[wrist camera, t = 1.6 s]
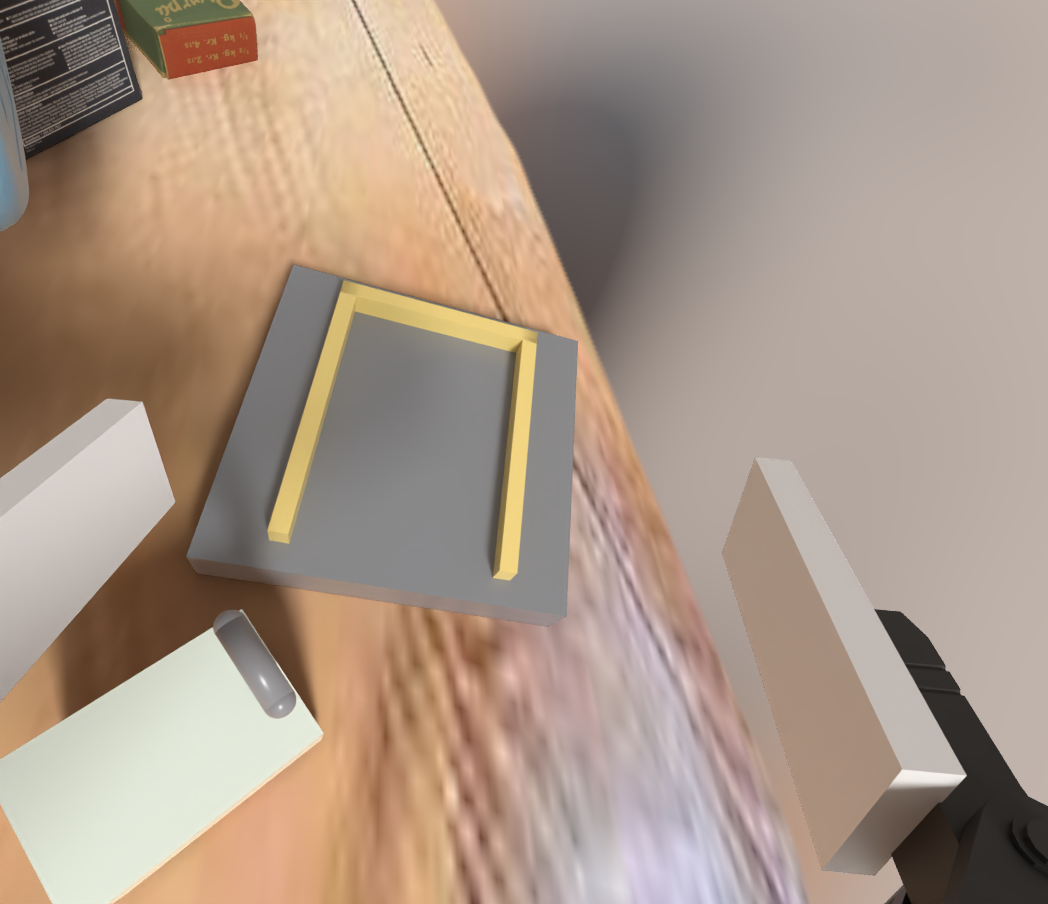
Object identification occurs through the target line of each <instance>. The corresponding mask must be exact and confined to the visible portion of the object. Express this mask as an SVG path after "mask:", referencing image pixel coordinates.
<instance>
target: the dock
mask: <svg viewBox="0 0 1048 904" xmlns="http://www.w3.org/2000/svg"><path fill="white" fill-rule="evenodd" d="M577 351H578V341H575V340H572V339H568V338H564V337H561V336H557V335H553V334H549V333H546V332H542V331H538V330H535V329H531V328H527V327H524V326H520V325H516V324H512V323H509V322H505V321H501V320H498V319H494V318H490V317H486V316H483V315H479V314H475V313H472V312H468V311H464V310H460V309H457V308H453V307H449V306H446V305H442V304H438V303H435V302H431V301H427V300H423V299H420V298H416V297H412V296H409V295H405V294H401V293H397V292H394V291H390V290H386V289H383V288H379V287H375V286H371V285H368V284H364V283H360V282H357V281H353V280H349V279H346V278H342V277H338V276H334V275H331V274H327V273H323V272H320V271H316V270H312V269H308V268H305V267H301V266H297V265H293V267H292V270H291V273H290V275H289V278H288V281H287V284H286V286H285V289H284V292H283V294H282V297H281V300H280V303H279V305H278V308H277V311H276V313H275V316H274V319H273V322H272V324H271V327H270V330H269V332H268V335H267V338H266V341H265V343H264V346H263V349H262V351H261V354H260V357H259V360H258V362H257V365H256V368H255V370H254V373H253V376H252V379H251V381H250V384H249V387H248V389H247V392H246V395H245V398H244V400H243V403H242V406H241V408H240V411H239V414H238V417H237V419H236V422H235V425H234V427H233V430H232V433H231V436H230V438H229V441H228V444H227V446H226V449H225V452H224V455H223V457H222V460H221V463H220V465H219V468H218V471H217V474H216V476H215V479H214V482H213V484H212V487H211V490H210V493H209V495H208V498H207V501H206V503H205V506H204V509H203V512H202V514H201V517H200V520H199V522H198V525H197V528H196V531H195V533H194V536H193V539H192V541H191V544H190V547H189V550H188V552H187V555H186V558H187V559H188V561H189V562H190V564H191V566H192V567H193V569H194V570H195V572H196V573H198V574H205V575H212V576H218V577H225V578H231V579H238V580H244V581H251V582H258V583H264V584H271V585H277V586H284V587H291V588H297V589H304V590H310V591H317V592H324V593H330V594H337V595H343V596H350V597H357V598H363V599H370V600H376V601H383V602H390V603H396V604H403V605H409V606H416V607H423V608H429V609H436V610H442V611H449V612H455V613H462V614H469V615H475V616H482V617H488V618H495V619H502V620H508V621H515V622H521V623H528V624H535V625H541V626H548V627H549V626H551V625H552V624H554V623H556V622H558V621H559V620H561V619H563V618H564V617H566V614H567V590H568V566H569V542H570V518H571V494H572V470H573V446H574V422H575V398H576V375H577Z"/></svg>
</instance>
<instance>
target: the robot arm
mask: <svg viewBox="0 0 1048 904" xmlns="http://www.w3.org/2000/svg"><path fill="white" fill-rule="evenodd" d="M28 201H29V184H28V175H27V166H26V159H25V153H24V147H23V141H22V136H21V130H20V125H19V120H18V115H17V110H16V105H15V100H14V95H13V91H12V86H11V82H10V77H9V73H8V68H7V64H6V59H5V55H4V51H3V47H2V43H1V39H0V232H2V231H4V230H6V229H7V228H9V227H11V226H12V225H14V224H16V223H17V222H18V221H19V220H20V218H21V216H22V215H23V214H24V213H25V211H26V208H27V205H28ZM174 503H175V500H174V496H173V493H172V490H171V487H170V484H169V481H168V478H167V475H166V472H165V469H164V466H163V463H162V460H161V457H160V454H159V451H158V448H157V445H156V442H155V439H154V435H153V432H152V429H151V426H150V423H149V420H148V417H147V414H146V411H145V408H144V405H143V402H140V401H129V400H118V399H106V400H104V401H103V402H102V403H100V404H99V405H98V406H96V407H95V408H94V409H92V410H91V411H90V412H88V413H87V414H86V415H84V416H83V417H82V418H80V419H79V420H78V421H76V422H75V423H74V424H72V425H71V426H70V427H68V428H67V429H65V430H64V431H63V432H61V433H60V434H59V435H57V436H56V437H55V438H53V439H52V440H51V441H49V442H48V443H47V444H45V445H44V446H43V447H41V448H40V449H39V450H37V451H36V452H35V453H33V454H32V455H31V456H29V457H28V458H27V459H25V460H24V461H23V462H21V463H20V464H19V465H17V466H16V467H15V468H13V469H12V470H11V471H9V472H8V473H6V474H5V475H4V476H2V477H1V478H0V702H1V701H2V700H3V699H4V697H5V696H6V695H7V694H8V693H9V692H10V691H11V689H12V688H13V687H14V686H15V685H16V684H17V683H18V681H19V680H20V679H21V678H22V677H23V676H24V675H25V673H26V672H27V671H28V670H29V669H30V668H31V667H32V665H33V664H34V663H35V662H36V661H37V660H38V659H39V657H40V656H41V655H42V654H43V653H44V652H45V651H46V649H47V648H48V647H49V646H50V645H51V644H52V643H53V641H54V640H55V639H56V638H57V637H58V636H59V635H60V633H61V632H62V631H63V630H64V629H65V628H66V627H67V625H68V624H69V623H70V622H71V621H72V620H73V619H74V617H75V616H76V615H77V614H78V613H79V612H80V611H81V610H82V608H83V607H84V606H85V605H86V604H87V603H88V602H89V600H90V599H91V598H92V597H93V596H94V595H95V594H96V592H97V591H98V590H99V589H100V588H101V587H102V586H103V584H104V583H105V582H106V581H107V580H108V579H109V578H110V576H111V575H112V574H113V573H114V572H115V571H116V570H117V568H118V567H119V566H120V565H121V564H122V563H123V562H124V560H125V559H126V558H127V557H128V556H129V555H130V554H131V552H132V551H133V550H134V549H135V548H136V547H137V546H138V544H139V543H140V542H141V541H142V540H143V539H144V538H145V536H146V535H147V534H148V533H149V532H150V531H151V530H152V528H153V527H154V526H155V525H156V524H157V523H158V522H159V520H160V519H161V518H162V517H163V516H164V515H165V514H166V512H167V511H168V510H169V509H170V508H171V507H172V506H173V504H174ZM722 555H723V558H724V561H725V564H726V567H727V571H728V574H729V577H730V580H731V583H732V587H733V590H734V593H735V596H736V599H737V602H738V606H739V608H740V612H741V615H742V618H743V622H744V625H745V628H746V631H747V634H748V637H749V641H750V644H751V647H752V650H753V653H754V657H755V660H756V663H757V666H758V669H759V672H760V676H761V679H762V682H763V685H764V688H765V691H766V694H767V698H768V701H769V704H770V707H771V710H772V714H773V717H774V720H775V723H776V726H777V730H778V733H779V736H780V739H781V742H782V746H783V749H784V752H785V755H786V758H787V761H788V765H789V768H790V771H791V774H792V777H793V781H794V784H795V787H796V790H797V793H798V796H799V800H800V803H801V806H802V809H803V812H804V815H805V819H806V822H807V825H808V828H809V831H810V835H811V838H812V841H813V844H814V847H815V851H816V854H817V857H818V860H819V863H820V866H821V870H822V871H833V872H843V873H853V874H864V875H876V873H877V872H878V871H879V870H880V869H881V868H882V867H883V866H884V865H885V864H886V863H887V862H888V860H889V859H890V858H891V857H893V860H894V862H895V865H896V867H897V869H898V872H899V875H900V877H901V879H902V882H903V884H904V885H903V886H902V887H901V888H900V889H899V890H898V891H897V892H896V893H895V894H894V895H893V896H892V897H891V898H890V899H889V900H888V901H887V902H886V903H885V904H1048V806H1046V805H1044V804H1042V803H1040V802H1038V801H1036V800H1034V799H1032V798H1030V797H1028V796H1027V794H1026V793H1025V791H1024V790H1023V789H1022V787H1021V786H1020V784H1019V783H1018V781H1017V779H1016V778H1015V776H1014V775H1013V773H1012V772H1011V770H1010V769H1009V767H1008V765H1007V763H1006V762H1005V760H1004V759H1003V757H1002V755H1001V754H1000V752H999V750H998V749H997V747H996V746H995V744H994V742H993V741H992V739H991V738H990V736H989V734H988V733H987V731H986V730H985V728H984V726H983V725H982V723H981V722H980V720H979V718H978V717H977V715H976V714H975V712H974V710H973V709H972V707H971V706H970V704H969V703H968V701H967V699H966V698H965V696H962V695H961V694H960V688H959V686H958V685H957V683H956V682H955V680H954V678H953V677H952V675H951V673H950V672H948V671H946V670H945V664H944V662H943V661H942V659H941V657H940V656H939V655H938V653H937V651H936V649H935V648H934V646H933V645H932V643H931V641H930V640H929V638H928V637H927V636H926V635H925V634H924V633H923V632H922V631H921V630H920V629H919V628H917V627H916V626H915V625H914V624H913V623H912V622H911V621H910V620H909V619H908V618H907V617H906V616H904V614H902V613H901V612H897V611H887V610H876V609H874V608H873V607H872V605H871V603H870V601H869V599H868V598H867V596H866V594H865V592H864V590H863V589H862V587H861V585H860V583H859V582H858V580H857V578H856V576H855V575H854V572H853V571H852V569H851V567H850V565H849V563H848V562H847V560H846V558H845V556H844V555H843V553H842V551H841V549H840V547H839V546H838V544H837V542H836V540H835V538H834V537H833V535H832V533H831V531H830V529H829V528H828V526H827V524H826V522H825V520H824V519H823V517H822V515H821V513H820V512H819V510H818V508H817V506H816V504H815V502H814V501H813V499H812V497H811V495H810V493H809V492H808V490H807V488H806V486H805V485H804V483H803V481H802V479H801V477H800V476H799V474H798V472H797V470H796V468H795V467H794V465H793V463H792V461H790V460H779V459H768V458H757V457H755V459H754V462H753V465H752V468H751V470H750V473H749V476H748V479H747V482H746V485H745V488H744V491H743V493H742V496H741V499H740V502H739V505H738V508H737V511H736V514H735V517H734V520H733V522H732V525H731V528H730V531H729V534H728V537H727V540H726V543H725V545H724V548H723V551H722Z"/></svg>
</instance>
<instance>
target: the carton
mask: <svg viewBox="0 0 1048 904" xmlns="http://www.w3.org/2000/svg"><path fill="white" fill-rule="evenodd" d="M114 2H115V5H116V8H117V13H118V16H119V20H120V24H121V27H122V30H123V32H124V33H125V34H126V36H127V37H128V38H129V39H130V40H131V41H132V42H133V43H134V44H135V45H136V47H137V48H138V49H139V50H140V51H141V52H142V53H143V55H144V56H145V57H146V58H147V59H148V60H149V61H150V63H151V64H152V65H153V66H154V67H155V68H156V69H157V71H158V72H159V73H160V74H161V76H162V77H164V78H167V79H173V78H178V77H182V76H187V75H192V74H197V73H201V72H206V71H210V70H215V69H219V68H224V67H228V66H233V65H238V64H243V63H247V62H252V61H256V60H258V54H257V34H256V24H255V20H254V17H253V14H252V13H251V12H250V11H249V10H248V9H247V8H246V7H245V6H244V5H243V3H242V2H241V1H240V0H114Z"/></svg>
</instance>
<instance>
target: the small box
mask: <svg viewBox="0 0 1048 904" xmlns="http://www.w3.org/2000/svg"><path fill="white" fill-rule="evenodd" d="M0 39H1V43H2V47H3V51H4V55H5V59H6V64H7V68H8V73H9V77H10V82H11V86H12V91H13V95H14V100H15V105H16V110H17V115H18V120H19V125H20V130H21V136H22V141H23V147H24V153H25V159H28V158H30V157H32V156H34V155H35V154H37V153H39V152H42V151H43V150H45V149H47V148H49V147H51V146H53V145H54V144H57V143H58V142H60V141H62V140H64V139H66V138H68V137H70V136H72V135H74V134H75V133H77V132H79V131H81V130H83V129H85V128H87V127H89V126H91V125H93V124H95V123H97V122H98V121H100V120H102V119H104V118H106V117H108V116H110V115H112V114H114V113H116V112H118V111H120V110H122V109H123V108H125V107H127V106H129V105H131V104H133V103H135V102H137V101H139V100H141V99H142V93H141V90H140V88H139V85H138V82H137V79H136V76H135V73H134V70H133V66H132V62H131V59H130V56H129V51H128V48H127V44H126V41H125V38H124V34H123V30H122V27H121V24H120V20H119V16H118V13H117V8H116V5H115V2H114V0H0Z"/></svg>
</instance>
